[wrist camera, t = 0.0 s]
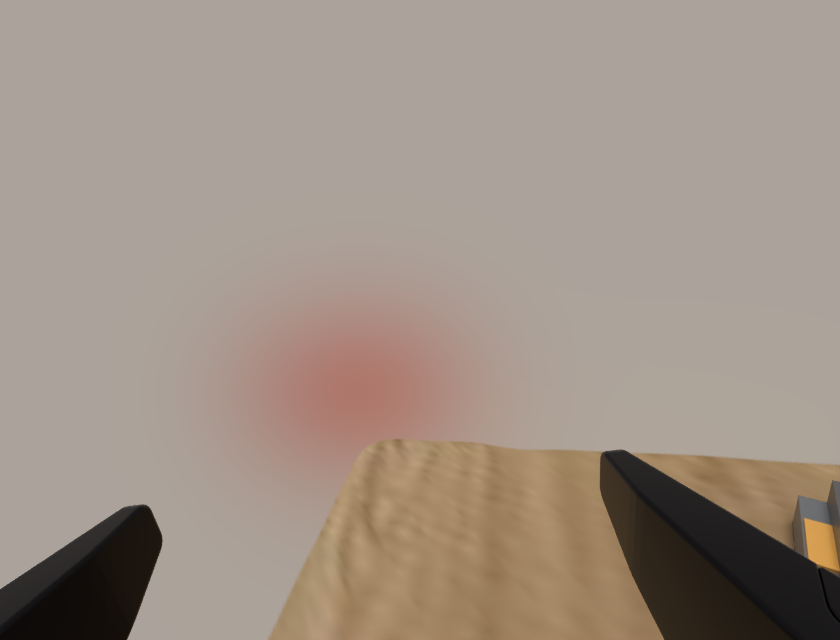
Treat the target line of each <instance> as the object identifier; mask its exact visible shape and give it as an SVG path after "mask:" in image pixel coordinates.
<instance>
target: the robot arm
mask: <svg viewBox="0 0 840 640" xmlns="http://www.w3.org/2000/svg"><path fill="white" fill-rule="evenodd" d="M600 491H601V495H602V498H603V501H604V504H605V506H606V509H607V512H608V514H609V517H610V519H611V522H612V525H613V527H614V530H615V532H616V535H617V538H618V540H619V543H620V546H621V548H622V551H623V553H624V556H625V559H626V561H627V564H628V566H629V569H630V571H631V574H632V576H633V578H634V580H635V582H636V584H637V586H638V589H639V590H640V592H641V594H642V596H643V598H644V600H645V602H646V604H647V606H648V608H649V610H650V612H651V614H652V616H653V618H654V620H655V622H656V624H657V626H658V628H659V630H660V632H661V634H662V636H663V638H664V640H840V577H839V576H837V575H835V574H834V573H832V572H830V571H829V570H827V569H825V568H823V567H819V568H818V566H817V564H816V563H815V562H813V561H811V560H810V559H808V558H806V557H805V556H803V555H801V554H800V553H798V552H796V551H794V550H793V549H791V548H789V547H788V546H786V545H784V544H783V543H781V542H779V541H778V540H776V539H774V538H773V537H771V536H769V535H767V534H766V533H764V532H762V531H761V530H759V529H757V528H756V527H754V526H752V525H751V524H749V523H747V522H745V521H744V520H742V519H740V518H739V517H737V516H735V515H734V514H732V513H730V512H729V511H727V510H725V509H723V508H722V507H720V506H718V505H717V504H715V503H713V502H712V501H710V500H708V499H707V498H705V497H703V496H701V495H700V494H698V493H696V492H695V491H693V490H691V489H690V488H688V487H686V486H685V485H683V484H681V483H679V482H678V481H676V480H674V479H673V478H671V477H669V476H668V475H666V474H664V473H663V472H661V471H659V470H658V469H656V468H654V467H652V466H651V465H649V464H647V463H646V462H644V461H642V460H641V459H639V458H637V457H636V456H634V455H632V454H630V453H629V452H627V451H625V450H613V451H605V452H603V453H602V454H601V457H600ZM161 547H162V534H161V531H160V529H159V527H158V525H157V522H156V520H155V518H154V515H153V513H152V511H151V509H150V508H149V507H148V506H147V505H134V506H128V507H124V508H122V509H120V510H119V511H117V512H116V513H114V514H113V515H111V516H110V517H108V518H107V519H105V520H104V521H102V522H101V523H99V524H98V525H96V526H95V527H93V528H92V529H90V530H89V531H87V532H86V533H84V534H83V535H81V536H80V537H78V538H77V539H75V540H74V541H72V542H71V543H69V544H68V545H66V546H65V547H63V548H62V549H60V550H59V551H57V552H56V553H54V554H53V555H51V556H50V557H48V558H47V559H45V560H44V561H42V562H41V563H39V564H37V565H36V566H35V567H33V568H31V569H30V570H28V571H27V572H25V573H24V574H22V575H21V576H19V577H18V578H16V579H15V580H13V581H12V582H10V583H9V584H7V585H6V586H4V587H3V588H1V589H0V640H127V639H128V636H129V634H130V632H131V629H132V627H133V624H134V622H135V619H136V617H137V614H138V611H139V609H140V606H141V603H142V600H143V597H144V595H145V592H146V589H147V587H148V584H149V581H150V578H151V575H152V573H153V570H154V567H155V564H156V561H157V559H158V556H159V553H160V551H161Z"/></svg>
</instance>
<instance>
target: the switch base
mask: <svg viewBox="0 0 840 640" xmlns="http://www.w3.org/2000/svg"><path fill="white" fill-rule="evenodd" d="M793 533H794V545H795V551H796V552H798V553H800V554H801V555H803V556H805V557H806V558H808V559H810V560H811V561H813V562H815V563H816V564H817V566H818V568H819V567H823V568H825V569H827V570H829V571H830V572H832V573H834V574H835V575H837V576H839V577H840V482H837V481H833V480H832V484H831V488H830V492H829V496H828V501H827V502H823V501H819V500H815V499H811V498H807V497H803V496H798V500H797V505H796V510H795V514H794V519H793Z"/></svg>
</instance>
